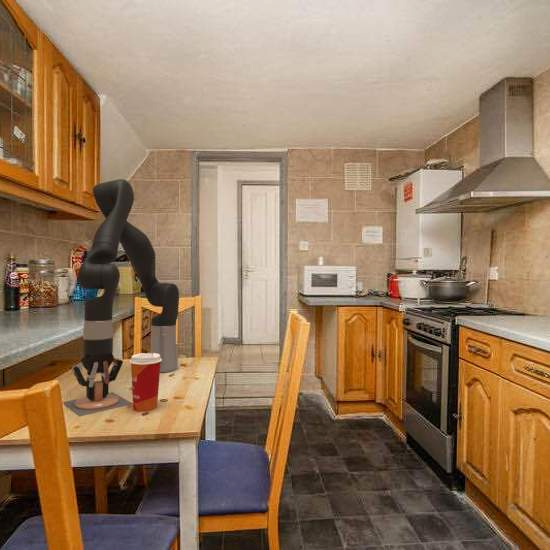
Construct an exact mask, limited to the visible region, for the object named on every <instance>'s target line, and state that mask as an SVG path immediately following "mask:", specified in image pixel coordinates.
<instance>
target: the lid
mask: <svg viewBox="0 0 550 550" xmlns="http://www.w3.org/2000/svg"><path fill="white" fill-rule="evenodd" d="M93 387H94V400H92V401H90V400H89V399H88V398H87V397H86V396H83V397H80V398H77V399H78V400H77V401H76V402H75V407H76V408H78V409H82V410H97V409H104V408H108V407H111V406H114V405H116V404H117V403H118V402H119V397H118V396H119V395H118V396H116V395H117V394H116V395H112V394H108V395H107V397H106V398H103V381H102V380H94V384H93Z"/></svg>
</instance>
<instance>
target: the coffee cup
mask: <svg viewBox="0 0 550 550" xmlns="http://www.w3.org/2000/svg"><path fill="white" fill-rule="evenodd" d="M161 361H162V359H161V358H160V355H159V354H157V353H153V355H152V354H151V352H146V353H145V352H143V353H142V352H141V353H135V354H133V355H132V356H131V358H130V360H129V363H130V368H131V390H132V391H131V393H132V394H131V395H132V403H133V404H132V409H133V410H134V411H135V412H142V413H143V412H150V411H154V410H156V409H157V408H158V400H159V388H160V387H159V385H160V374H161V372H160V362H161Z"/></svg>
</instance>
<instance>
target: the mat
mask: <svg viewBox="0 0 550 550" xmlns="http://www.w3.org/2000/svg"><path fill="white" fill-rule="evenodd" d="M108 394H112V395H116V396H118V397H119V402H118V403H117V404H116V405H114V406H111V407H108V408H104V409H97V410H82V409H78V408H76V407H75V402H76V401H77V400H78V399H79V398H77V399H72V400H71V399H70V400H66V401H63V403H64V404H63V405H64V406H65V407H66V408H67V409H69V410H70V411H72V412H73V413H74V414H76V415H77V416H78V417H82V416H87V415H91V414H92V415H93V414H97V413H101V412H105V411H109V410H113V409H117V408H121V407H126V406H131V405H133V402H131V401H129V400H127V399H126V398H124V397H122V396H120V395H118V394H117V393H114V392H113V391H111V392H109V393H108Z"/></svg>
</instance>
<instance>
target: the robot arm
mask: <svg viewBox="0 0 550 550" xmlns="http://www.w3.org/2000/svg"><path fill="white" fill-rule="evenodd" d="M92 195H93V198H94V202H95V203H96V206H97V207H98V209H99V210H100V212H101V213H102V215H103V217H104V218H105V219H104V220H103V222H101V223H100V225H99V226H98V227H97V230H96V231H95V232H94V233H95V234H94V235H93V239H92V244H91V248H90V251H89V253H87V256H86V258H85V259H84V261H82V264H81V265H80V267H79V268H78V272H77V279H76V280H77V283H78V285H79V286H80V287H81V288H83V290H104V291H103V294H102V295H101V296H98V297H93V298H88V299H86V301H85V303H84V323H83V330H82V331H83V332H82V334H83V335H82V358H81V360H80V362H78V363H77V364H73V365H71V367H70V369H71V371H72V374H73V375H74V377H75V379H76V381H77V383H78V384H79V385H80V386H81V387H85V389H86V392H85V394H86V396H85V397H87V398H88V399H89V400H90V401H92V400H94V387H93V384H94V381H95V379H96V377H97V374H100V379H101V380H100V381H103V398H106V397H107V395H108V393H110V392H109V385H110V383H111V382H115V380H116V379H117V377H118V375H119V373H120V370H121V368H122V365H123V363H124V361H123V360H122V359H119V358H115V356H114V355H113V353H114V352H113V351H114V325H113V324H114V322H113V305H114V299H115V294H116V291H117V288H118V286H119V282H120V278H121V273H120V269H119V268H118V267H117V266H116V265H115V264H112V263H113V262H115V260H116V259H117V256H118V250H119V246H120V244H121V247H122V249H123V252H124V254H125V255H126V257H127V258H128V261H129V262H130V264H131V265H132V267H133V269H134V272H135V274H136V276H137V278H138V280H139V282H140V285H141V287H142V290H143V293H144V295H145V297H146V300H147V302H148V303H149V304H150V305H151V306H152V307H157V308H158V307H159V308H161V309H162V310H161V312H160V313H159V314H158V315H155V316H153V317H152V318H151V321H150V325H151V326H150V329H151V330H150V331H151V332H150V353H151V354H152V355H153V353H157V354H159V355H160V358H161V359H162V361H161V362H160V373H168V372H173V371H175V370H178V369H179V365H178V363H179V344H178V343H177V320H178V317H179V305H180V290H179V288H178V286H177V285H176V283H169V282H159V280H158V279H157V277H156V275H155V271H154V268H155V263H156V262H155V261H156V252H155V248H154V247H153V244H152V242H151V240H150V239H149V237H148V236H147V234H146V233H144V232H143V231H142V230H141V229H139V228H138V227H136V226H135V225H133V224H132V223H131V222H129V221H128V218H129V216H130V215H129V214H130V213H131V210H132V208H133V205H134V201H135V194H134V189H133V187H132V185H131V183H130V182H129V181H128V180H126V179H114V180H108V181H105V182H99V183H97V184H95V185H94V186H93V189H92ZM111 365H112V368H111V370H110V371H109V368H110V366H111ZM83 368H84V369H85V370H86V374H85V375H86V378H85V377H84V375H83V373H82V371H83Z"/></svg>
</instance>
